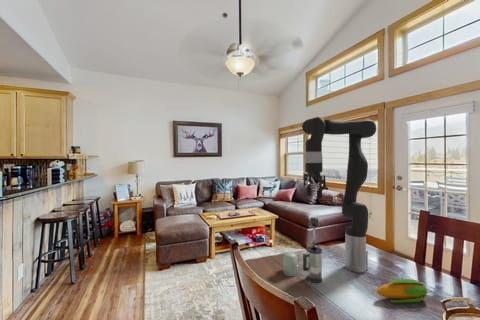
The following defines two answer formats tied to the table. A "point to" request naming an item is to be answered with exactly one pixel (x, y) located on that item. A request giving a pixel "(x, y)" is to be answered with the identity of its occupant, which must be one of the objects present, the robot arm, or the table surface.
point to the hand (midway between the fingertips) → (313, 197)
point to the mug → (290, 263)
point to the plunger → (313, 223)
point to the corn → (403, 290)
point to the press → (313, 264)
